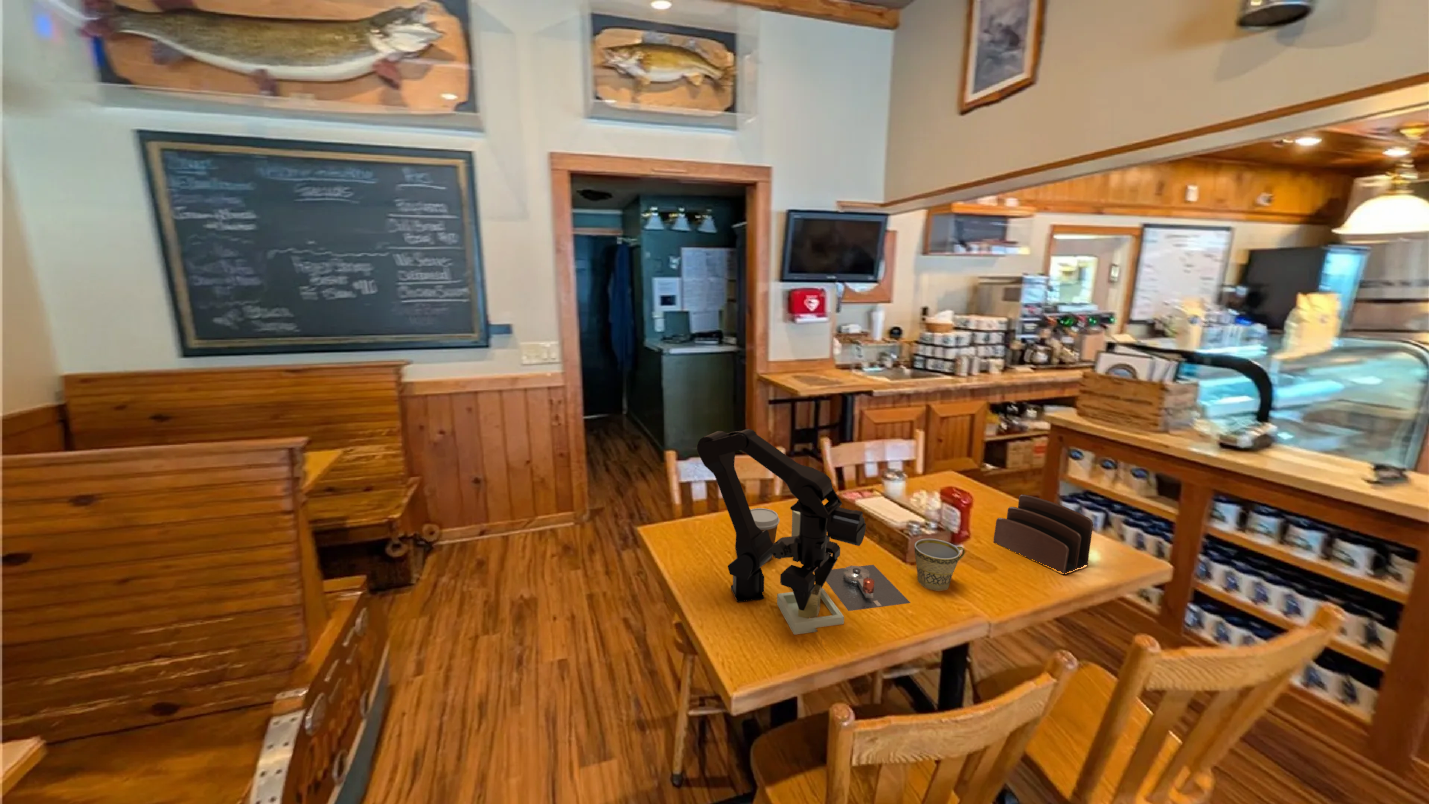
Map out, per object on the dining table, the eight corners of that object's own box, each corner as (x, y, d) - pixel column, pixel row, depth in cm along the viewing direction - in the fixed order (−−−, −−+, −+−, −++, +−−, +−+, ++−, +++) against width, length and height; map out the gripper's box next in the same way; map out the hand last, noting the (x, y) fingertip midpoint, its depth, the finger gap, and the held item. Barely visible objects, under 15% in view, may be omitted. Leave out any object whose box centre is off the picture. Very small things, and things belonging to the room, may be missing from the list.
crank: (840, 570, 131) (841, 556, 130) (864, 569, 131) (865, 556, 130) (856, 599, 119) (857, 584, 118) (882, 597, 119) (883, 583, 118)
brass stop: (798, 616, 114) (799, 591, 113) (801, 606, 118) (802, 581, 117) (816, 620, 113) (817, 595, 112) (819, 610, 117) (821, 585, 115)
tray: (793, 634, 109) (794, 623, 109) (777, 604, 120) (777, 593, 119) (843, 627, 111) (844, 616, 111) (822, 598, 122) (823, 588, 121)
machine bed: (848, 614, 116) (848, 608, 116) (817, 574, 132) (818, 569, 132) (910, 606, 119) (910, 600, 119) (873, 568, 135) (873, 562, 135)
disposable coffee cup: (756, 544, 147) (756, 504, 145) (785, 555, 142) (786, 513, 139) (735, 558, 140) (735, 515, 138) (765, 570, 134) (766, 526, 132)
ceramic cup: (928, 601, 121) (932, 561, 119) (902, 578, 130) (905, 541, 128) (976, 592, 124) (980, 553, 122) (947, 571, 134) (951, 534, 132)
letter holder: (1015, 535, 153) (1021, 490, 150) (1088, 567, 136) (1096, 516, 133) (992, 543, 149) (998, 495, 146) (1064, 576, 132) (1072, 524, 129)
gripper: (796, 508, 123) (794, 569, 127) (758, 540, 108) (756, 608, 111) (842, 520, 117) (839, 583, 121) (808, 554, 102) (805, 626, 105)
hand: (810, 599), depth 115 cm, fingers open, 9 cm apart
